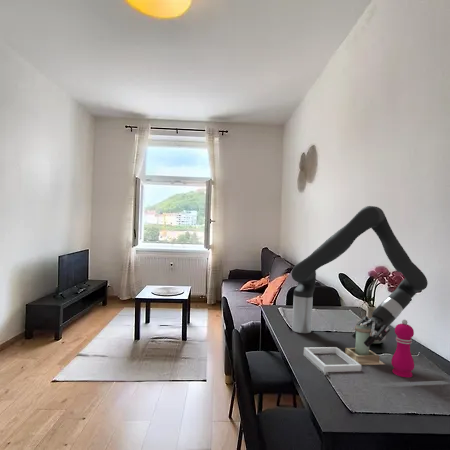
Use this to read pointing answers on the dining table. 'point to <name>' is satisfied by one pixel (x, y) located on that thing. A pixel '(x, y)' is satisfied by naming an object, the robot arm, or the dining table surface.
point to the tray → (331, 368)
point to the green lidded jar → (362, 339)
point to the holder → (364, 357)
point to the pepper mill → (403, 350)
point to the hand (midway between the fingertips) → (359, 341)
